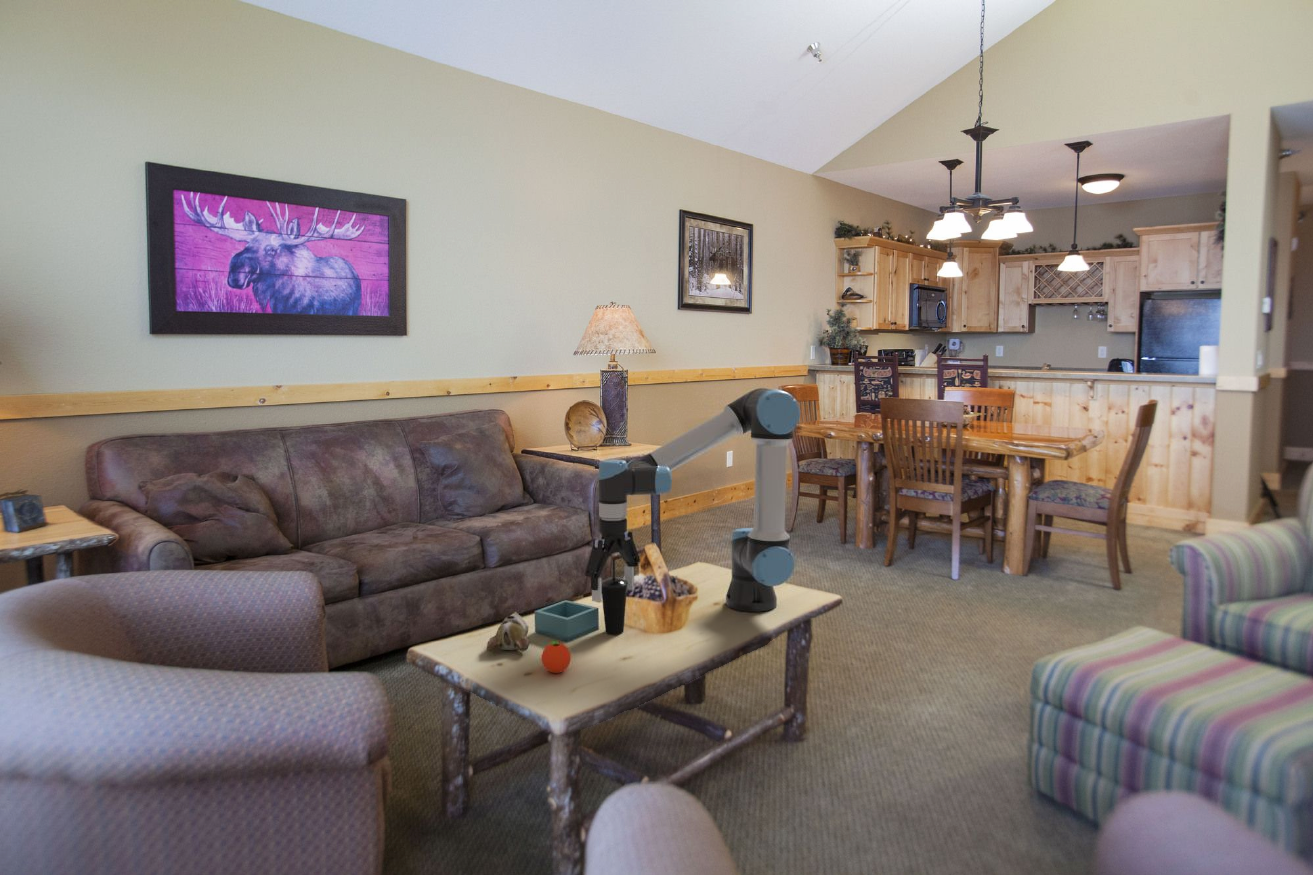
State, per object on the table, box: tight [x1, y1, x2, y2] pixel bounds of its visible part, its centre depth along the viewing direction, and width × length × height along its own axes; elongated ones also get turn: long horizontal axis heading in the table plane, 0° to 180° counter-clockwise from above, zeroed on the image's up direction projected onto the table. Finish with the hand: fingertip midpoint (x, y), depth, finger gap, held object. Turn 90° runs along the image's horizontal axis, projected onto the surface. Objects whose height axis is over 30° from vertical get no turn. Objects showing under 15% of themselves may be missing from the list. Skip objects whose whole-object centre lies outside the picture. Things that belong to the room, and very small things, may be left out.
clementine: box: [540, 641, 572, 674], centre depth 191 cm, size 8×7×7 cm
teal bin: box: [534, 599, 600, 643], centre depth 219 cm, size 12×12×6 cm
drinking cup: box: [601, 558, 628, 636], centre depth 217 cm, size 8×8×20 cm
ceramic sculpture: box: [486, 611, 530, 653], centre depth 207 cm, size 11×9×15 cm
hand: (613, 595), depth 217 cm, fingers open, 13 cm apart
